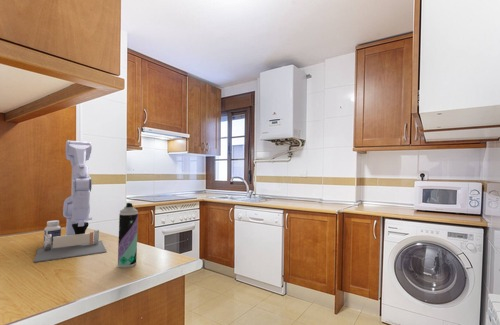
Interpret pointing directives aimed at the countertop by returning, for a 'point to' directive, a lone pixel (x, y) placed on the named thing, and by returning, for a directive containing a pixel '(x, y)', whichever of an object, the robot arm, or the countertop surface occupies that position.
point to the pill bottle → (52, 230)
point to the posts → (49, 238)
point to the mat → (69, 252)
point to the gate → (72, 240)
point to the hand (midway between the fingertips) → (79, 241)
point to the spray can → (127, 236)
